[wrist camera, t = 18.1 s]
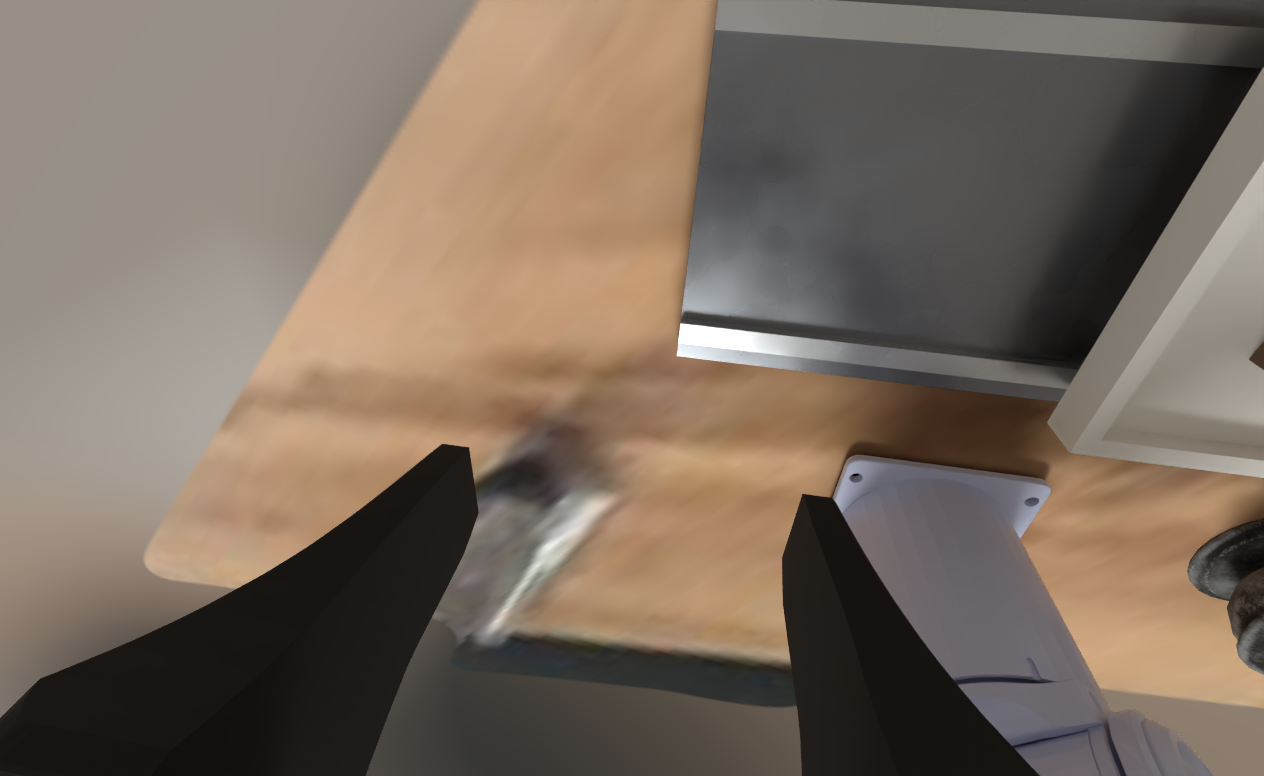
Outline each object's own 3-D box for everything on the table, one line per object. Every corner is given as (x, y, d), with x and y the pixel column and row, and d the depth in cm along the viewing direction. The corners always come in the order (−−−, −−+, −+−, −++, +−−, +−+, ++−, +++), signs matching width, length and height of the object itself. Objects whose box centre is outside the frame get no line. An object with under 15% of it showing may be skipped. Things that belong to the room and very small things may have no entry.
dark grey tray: (1374, 428, 20) (1445, 475, 18) (678, 345, 22) (673, 379, 20) (1801, 19, 13) (1992, 24, 11) (723, -44, 15) (723, -50, 13)
